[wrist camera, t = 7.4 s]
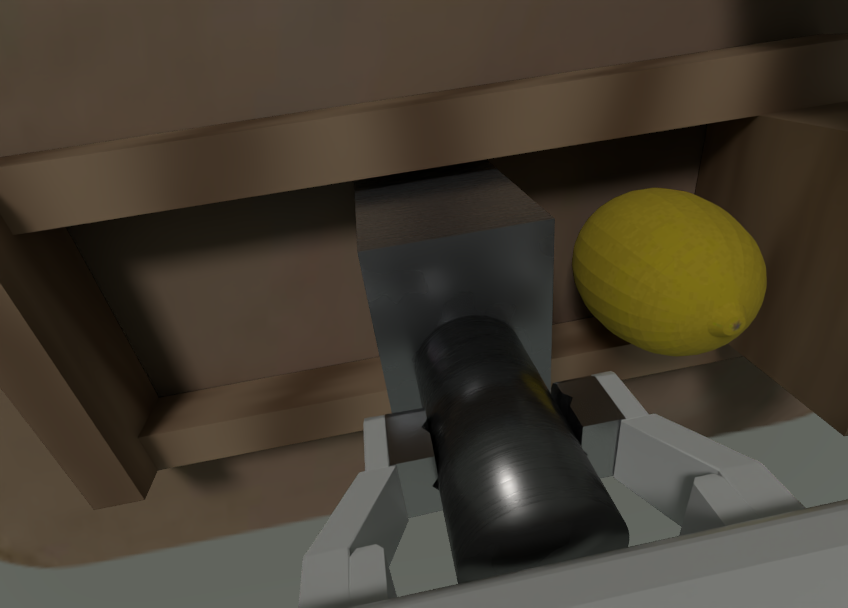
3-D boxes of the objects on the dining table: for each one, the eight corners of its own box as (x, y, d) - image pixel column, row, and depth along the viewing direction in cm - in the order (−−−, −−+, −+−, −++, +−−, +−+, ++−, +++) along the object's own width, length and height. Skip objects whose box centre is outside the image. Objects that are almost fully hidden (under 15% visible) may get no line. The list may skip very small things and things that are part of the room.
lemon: (647, 283, 22) (783, 393, 15) (535, 288, 21) (625, 407, 14) (680, 164, 19) (865, 233, 12) (554, 166, 19) (676, 240, 12)
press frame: (820, 34, 17) (1196, 29, 10) (742, 321, 24) (930, 454, 16) (-37, 162, 16) (-418, 283, 8) (133, 437, 22) (18, 650, 14)
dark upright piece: (483, 157, 18) (719, 360, 6) (493, 330, 22) (648, 639, 11) (354, 178, 17) (366, 428, 6) (388, 350, 21) (432, 689, 10)
